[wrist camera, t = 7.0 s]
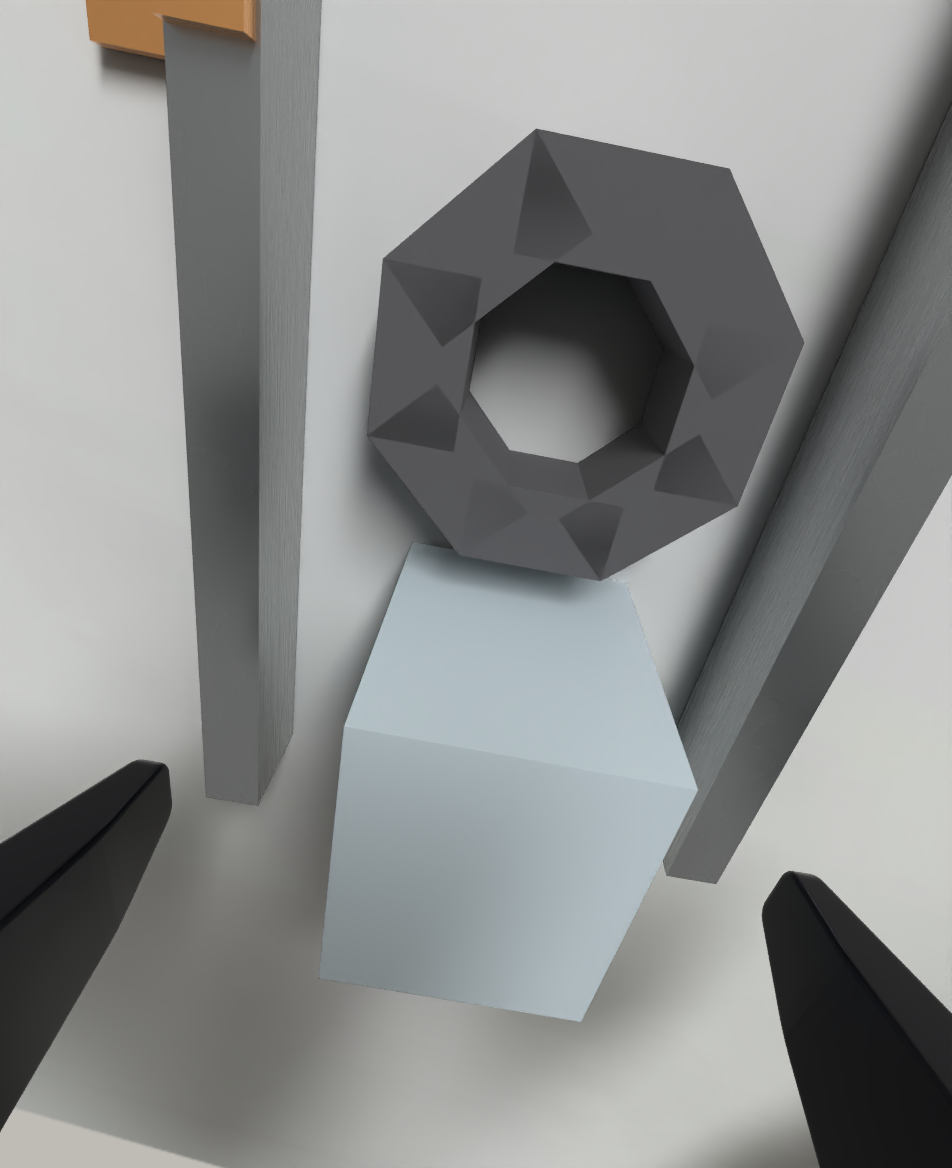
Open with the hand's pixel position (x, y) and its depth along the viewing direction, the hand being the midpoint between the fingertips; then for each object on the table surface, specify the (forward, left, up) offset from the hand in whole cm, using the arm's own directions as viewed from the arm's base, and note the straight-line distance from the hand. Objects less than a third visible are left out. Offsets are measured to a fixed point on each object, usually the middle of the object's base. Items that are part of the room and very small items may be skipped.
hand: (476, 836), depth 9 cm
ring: (+6, 0, -4) cm, 7 cm away
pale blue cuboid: (0, 0, -4) cm, 4 cm away
